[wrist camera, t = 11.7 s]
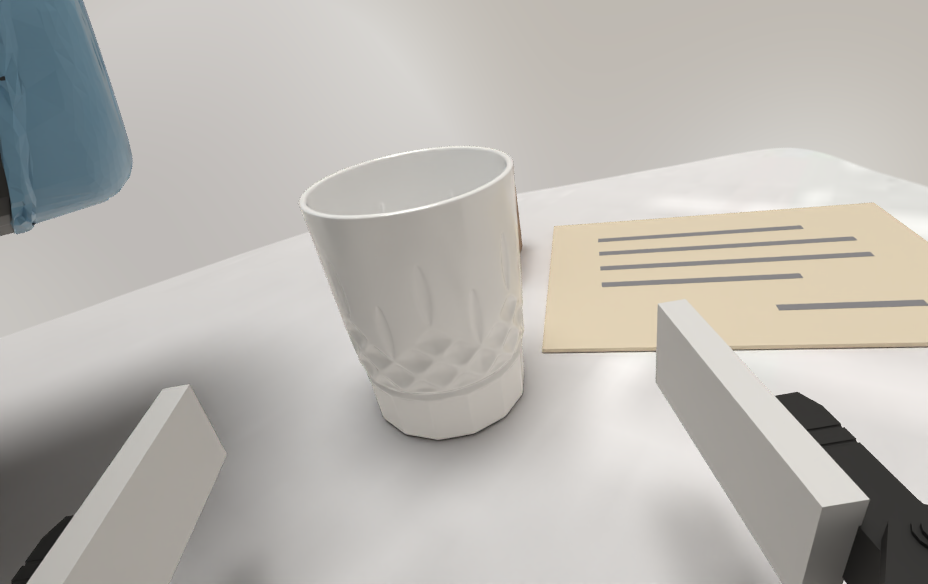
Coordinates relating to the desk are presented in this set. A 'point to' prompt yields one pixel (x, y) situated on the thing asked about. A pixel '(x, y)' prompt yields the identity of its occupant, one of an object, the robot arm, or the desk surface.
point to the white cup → (427, 282)
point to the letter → (742, 280)
